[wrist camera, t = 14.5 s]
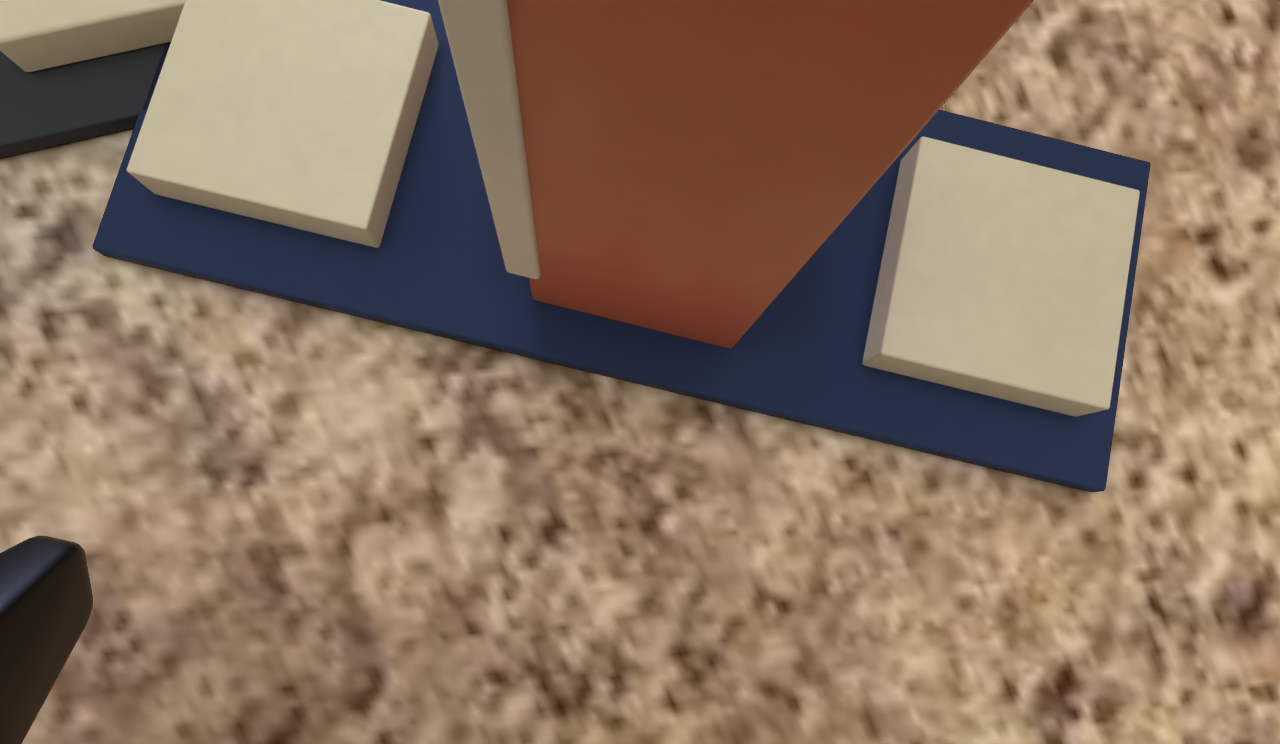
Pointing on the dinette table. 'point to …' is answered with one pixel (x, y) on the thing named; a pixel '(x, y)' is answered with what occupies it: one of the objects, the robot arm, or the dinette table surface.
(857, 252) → the blue tile board
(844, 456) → the dinette table surface
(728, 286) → the upright orange brick
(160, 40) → the dark grey base plate
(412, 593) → the dinette table surface
